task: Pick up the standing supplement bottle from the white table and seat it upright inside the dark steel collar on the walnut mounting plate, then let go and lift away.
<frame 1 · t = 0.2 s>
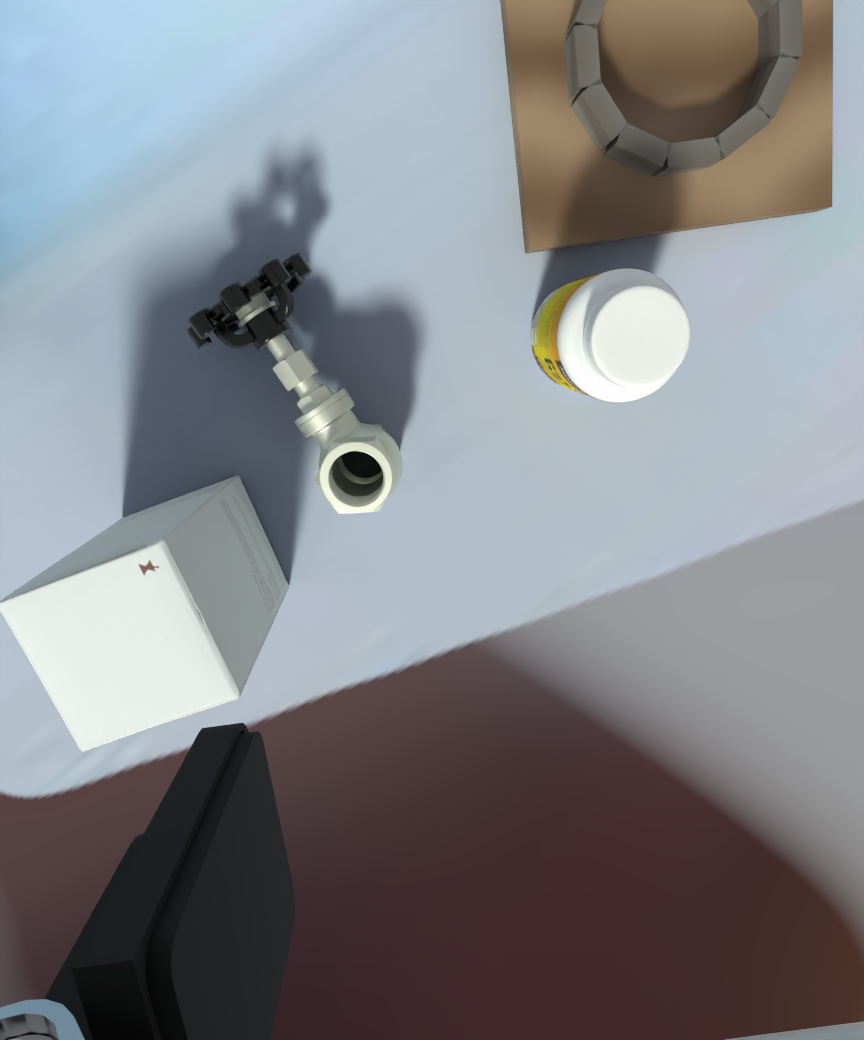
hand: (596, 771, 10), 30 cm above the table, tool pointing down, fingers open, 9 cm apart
valve: (324, 394, 39), on the table
supplement bottle: (579, 335, 38), on the table
collar plate: (662, 69, 35), on the table
supplement box: (208, 553, 41), on the table
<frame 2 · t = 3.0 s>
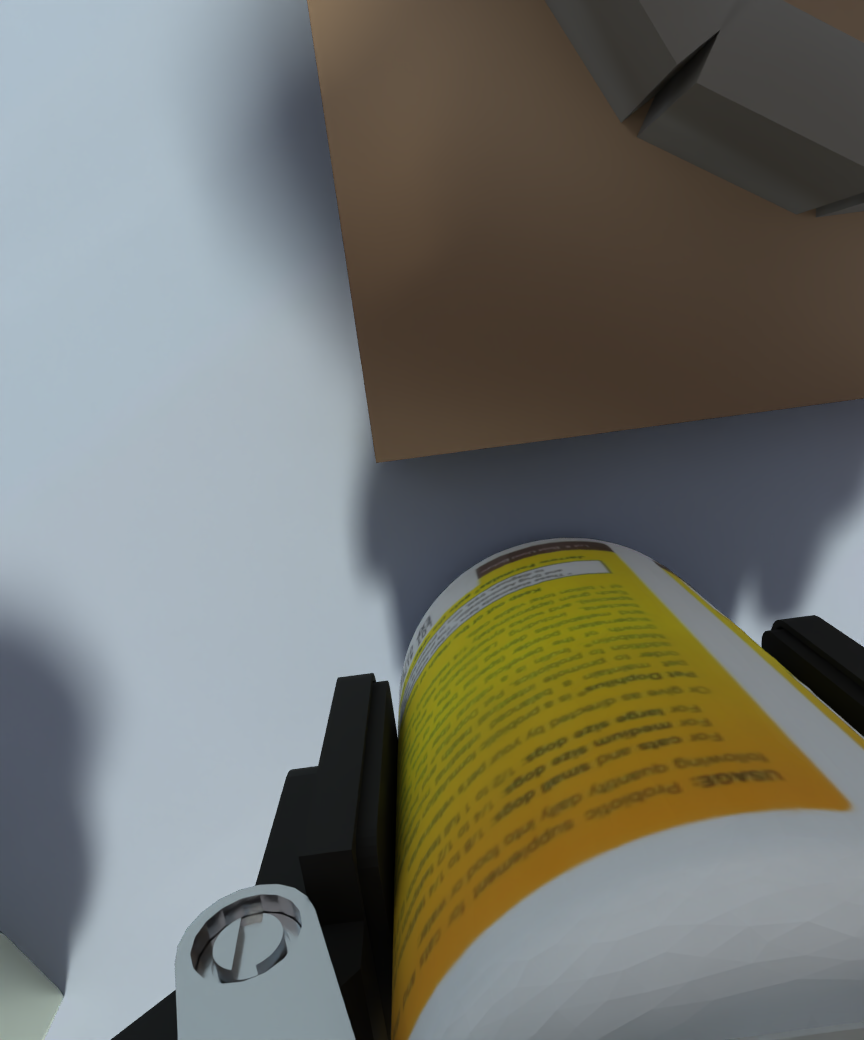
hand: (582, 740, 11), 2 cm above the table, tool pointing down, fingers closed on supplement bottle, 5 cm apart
supplement bottle: (554, 673, 13), on the table, touching gripper
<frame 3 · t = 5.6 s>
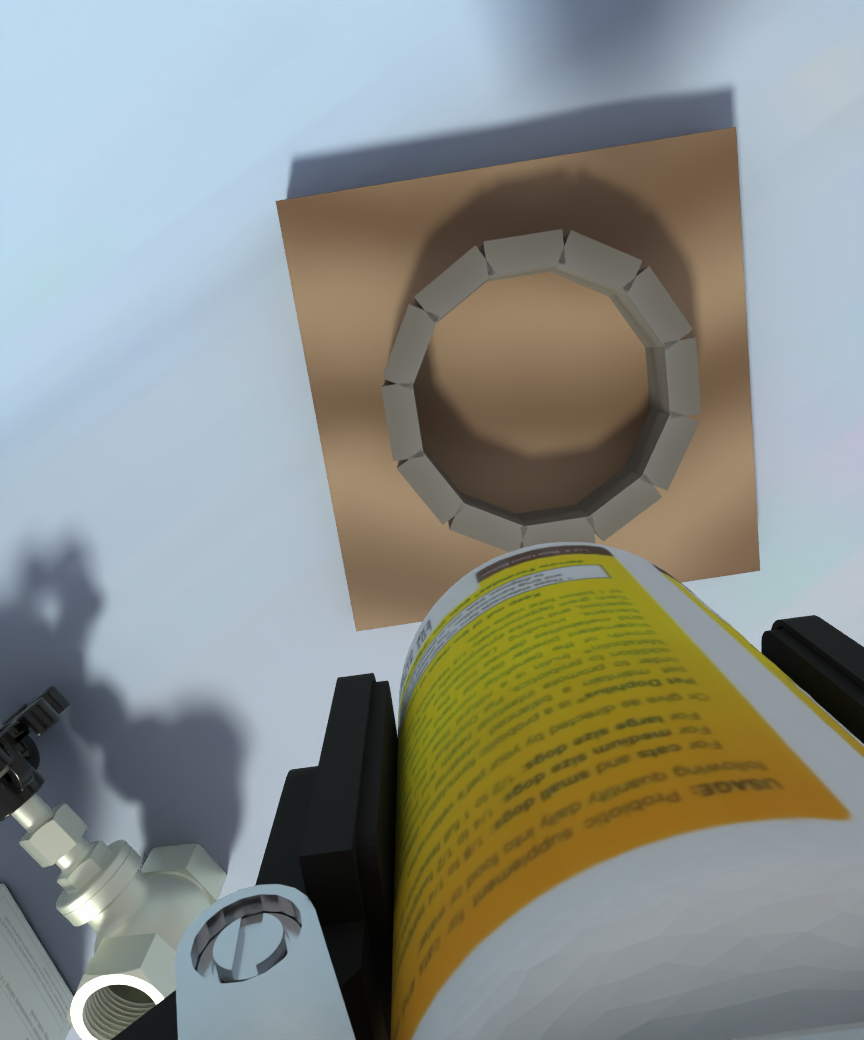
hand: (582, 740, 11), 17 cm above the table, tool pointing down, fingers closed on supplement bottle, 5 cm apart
valve: (123, 809, 30), on the table
supplement bottle: (554, 677, 13), point 15 cm above the table, touching gripper
collar plate: (526, 395, 26), on the table
when the fingers open (5 cm above the table, at t = 8.4 s): supplement bottle drops 1 cm, resting on collar plate.
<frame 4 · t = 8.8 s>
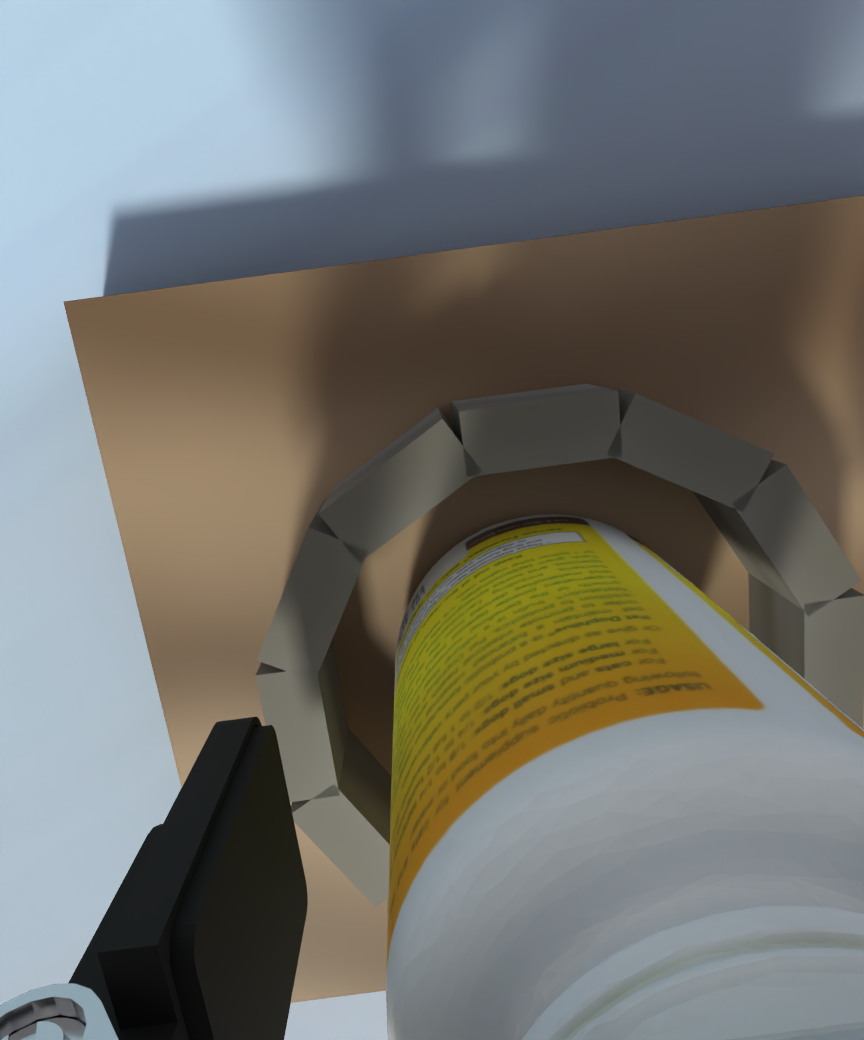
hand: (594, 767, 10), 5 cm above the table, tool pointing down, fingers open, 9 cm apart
supplement bottle: (538, 641, 14), point 1 cm above the table, touching collar plate
collar plate: (531, 622, 15), on the table
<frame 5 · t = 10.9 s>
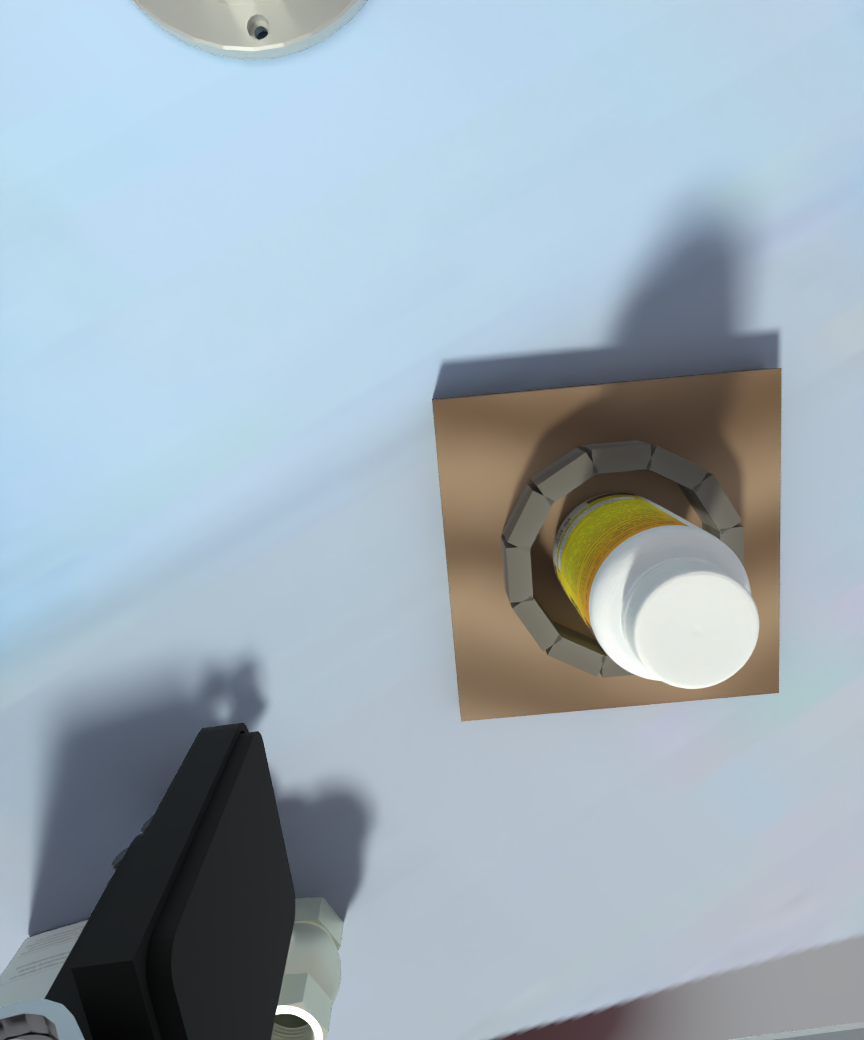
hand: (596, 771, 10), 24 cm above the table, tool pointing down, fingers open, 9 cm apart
valve: (263, 867, 37), on the table
supplement bottle: (610, 549, 32), point 1 cm above the table, touching collar plate
collar plate: (605, 545, 34), on the table
supplement box: (117, 970, 38), on the table
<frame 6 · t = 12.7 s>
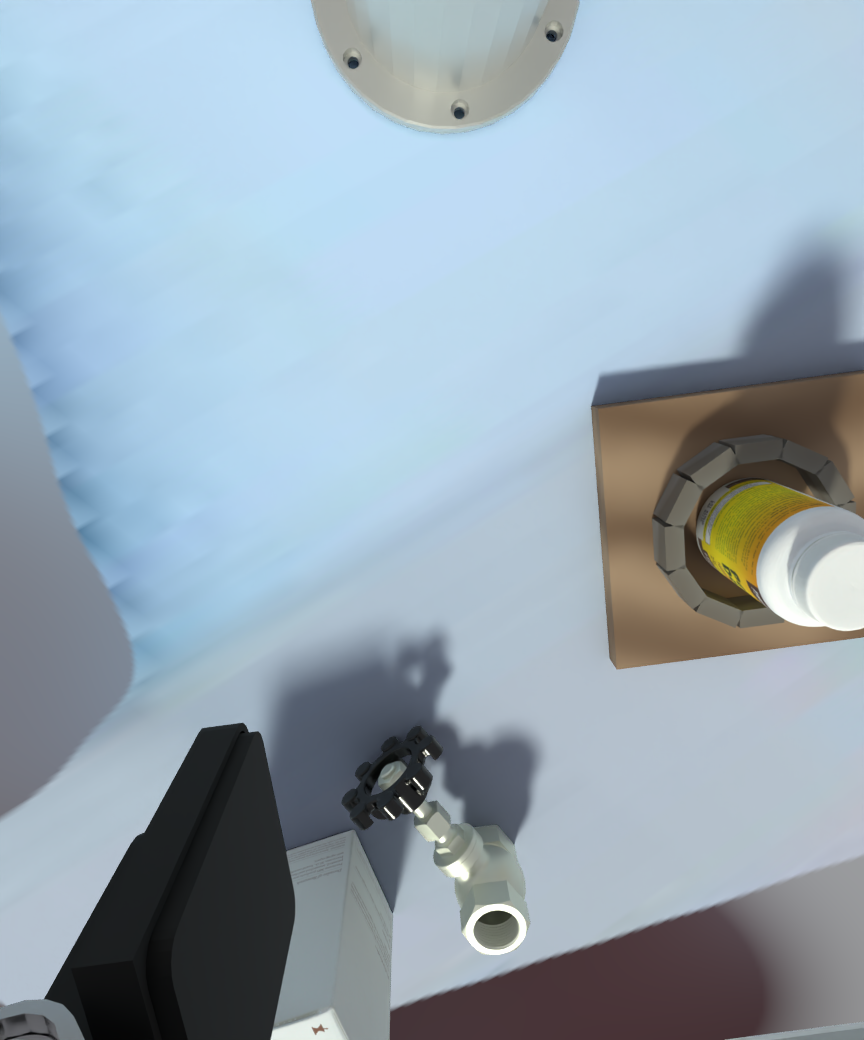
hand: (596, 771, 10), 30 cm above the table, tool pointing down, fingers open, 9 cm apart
valve: (447, 803, 45), on the table
supplement bottle: (740, 524, 40), point 1 cm above the table, touching collar plate
collar plate: (731, 520, 41), on the table
supplement box: (322, 887, 46), on the table
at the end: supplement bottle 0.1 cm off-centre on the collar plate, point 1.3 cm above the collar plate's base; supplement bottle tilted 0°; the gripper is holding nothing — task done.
